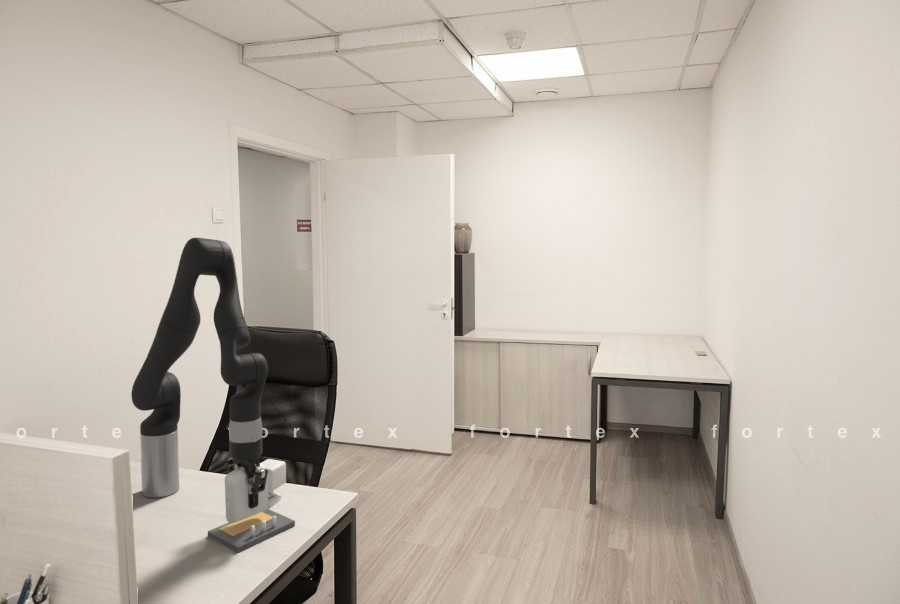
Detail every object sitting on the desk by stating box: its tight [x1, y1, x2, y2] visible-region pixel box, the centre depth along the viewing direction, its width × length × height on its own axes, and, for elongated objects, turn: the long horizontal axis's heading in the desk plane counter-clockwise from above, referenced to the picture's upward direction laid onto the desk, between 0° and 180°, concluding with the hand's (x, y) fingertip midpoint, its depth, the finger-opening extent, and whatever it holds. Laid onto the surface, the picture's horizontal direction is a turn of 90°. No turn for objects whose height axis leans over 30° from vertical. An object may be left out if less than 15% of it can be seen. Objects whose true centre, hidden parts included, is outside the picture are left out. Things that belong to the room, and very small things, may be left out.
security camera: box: [259, 458, 287, 508], centre depth 157 cm, size 6×7×10 cm
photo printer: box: [224, 464, 269, 523], centre depth 140 cm, size 10×4×12 cm, turn 140°
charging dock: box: [207, 508, 296, 553], centre depth 140 cm, size 12×16×4 cm
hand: (247, 504), depth 141 cm, fingers closed on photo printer, 4 cm apart
